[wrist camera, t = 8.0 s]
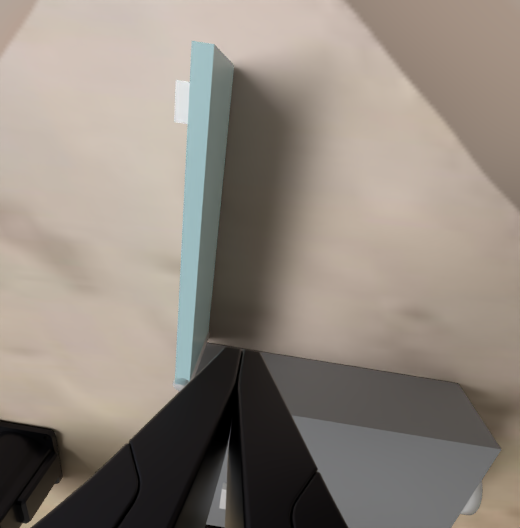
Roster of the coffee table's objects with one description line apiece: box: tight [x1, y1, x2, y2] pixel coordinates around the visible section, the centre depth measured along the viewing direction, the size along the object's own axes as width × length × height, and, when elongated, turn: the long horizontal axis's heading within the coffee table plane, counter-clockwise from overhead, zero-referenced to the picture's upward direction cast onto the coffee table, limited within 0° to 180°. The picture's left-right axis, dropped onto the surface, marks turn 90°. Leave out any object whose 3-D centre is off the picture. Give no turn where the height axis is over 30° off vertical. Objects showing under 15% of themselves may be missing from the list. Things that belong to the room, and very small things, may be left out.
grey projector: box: [195, 343, 501, 528], centre depth 23 cm, size 20×12×5 cm, turn 82°
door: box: [173, 41, 234, 391], centre depth 17 cm, size 16×2×5 cm, turn 172°
